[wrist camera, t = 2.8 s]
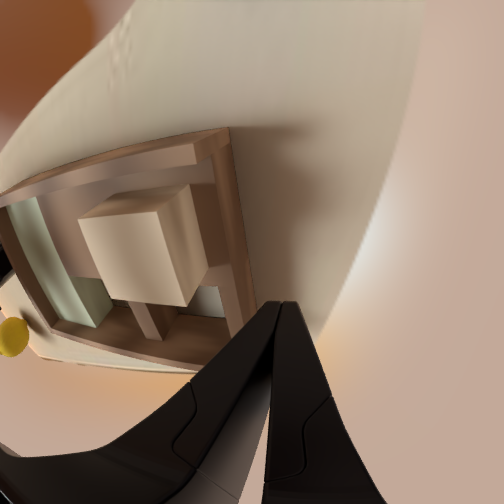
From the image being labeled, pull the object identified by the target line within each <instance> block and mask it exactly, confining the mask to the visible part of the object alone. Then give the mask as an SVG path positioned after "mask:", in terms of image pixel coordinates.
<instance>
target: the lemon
mask: <svg viewBox="0 0 504 504" xmlns="http://www.w3.org/2000/svg"><path fill="white" fill-rule="evenodd" d="M28 341H29V330H28V328H27V321H26V320H25V319H19V318H17V317H10V318H8V319H6V320H5V321H4V322H3V323H2V324H1V325H0V354H1V355H5V356H7V357H14V356H17V355H18V354H20V353H21V352H22V351H23V350H24V349H25V347H26V346H27V344H28Z"/></svg>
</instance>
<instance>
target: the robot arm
mask: <svg viewBox="0 0 504 504" xmlns="http://www.w3.org/2000/svg"><path fill="white" fill-rule="evenodd" d="M14 274H15V271H14V269H13V267H12V265H11V263H10V261H9V259H8V257H7V255H6V252H5V250H4V248H3V246H2V243H1V241H0V288H1V287H2V286H3V285H4V284H5V283H6V282H7V281H8V280H9V279H10V278H11V277H12V276H13V275H14ZM1 309H2V308H1V307H0V310H1ZM269 407H270V411H269V426H268V440H267V451H266V464H265V475H264V482H265V483H264V486H263V495H262V502H261V504H387V503H386V501H385V500H384V498H383V497H382V496H381V494H380V492H379V491H378V489H377V487H376V486H375V484H374V482H373V480H372V478H371V477H370V475H369V473H368V471H367V469H366V467H365V465H364V464H363V462H362V460H361V458H360V456H359V454H358V453H357V451H356V449H355V447H354V445H353V443H352V441H351V439H350V437H349V435H348V433H347V431H346V429H345V426H344V424H343V421H342V419H341V416H340V414H339V412H338V409H337V406H336V403H335V401H334V398H333V397H332V393H331V390H330V387H329V384H328V382H327V379H326V376H325V373H324V371H323V368H322V365H321V363H320V360H319V357H318V355H317V352H316V349H315V346H314V344H313V341H312V339H311V336H310V333H309V331H308V328H307V325H306V323H305V320H304V317H303V315H302V312H301V310H300V307H299V304H298V303H297V302H296V301H284V302H283V303H282V302H281V301H267V302H266V303H265V304H264V305H263V306H262V307H261V308H260V309H259V310H258V311H257V312H256V313H255V314H254V316H253V317H252V318H251V319H250V320H249V321H248V322H247V323H246V324H245V325H244V326H243V327H242V328H241V329H240V330H239V331H238V332H237V333H236V334H235V335H234V336H233V337H232V338H231V339H230V341H229V342H228V343H227V344H226V345H225V346H224V347H223V348H222V349H221V350H220V351H219V352H218V353H217V354H216V355H215V356H214V357H213V358H212V359H211V360H210V361H209V362H208V363H207V364H206V365H205V366H204V367H203V368H202V369H201V370H200V371H199V372H198V373H197V374H196V375H195V376H194V377H193V378H192V379H191V380H190V382H187V383H186V384H185V385H184V386H183V387H182V388H181V389H180V390H179V391H178V392H177V393H176V394H175V395H173V396H172V397H171V398H170V399H169V400H168V401H167V402H166V403H165V404H163V405H162V406H161V407H160V408H158V409H157V410H156V411H154V412H153V413H152V414H151V415H149V416H148V417H147V418H145V419H144V420H143V421H141V422H140V423H138V424H137V425H135V426H134V427H133V428H131V429H130V430H128V431H127V432H125V433H124V434H123V435H121V436H120V437H118V438H117V439H115V440H114V441H112V442H110V443H109V444H107V445H105V446H103V447H100V448H98V449H94V450H91V451H86V452H79V453H71V454H63V455H53V456H41V457H21V456H20V455H18V454H17V453H15V452H14V451H12V450H11V449H10V448H8V447H6V446H5V445H4V444H2V443H0V504H238V502H239V499H240V497H241V493H242V491H243V488H244V485H245V482H246V480H247V477H248V473H249V471H250V468H251V465H252V462H253V459H254V455H255V452H256V449H257V446H258V443H259V440H260V437H261V433H262V430H263V427H264V424H265V420H266V417H267V414H268V410H269Z"/></svg>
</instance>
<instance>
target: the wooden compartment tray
mask: <svg viewBox="0 0 504 504" xmlns="http://www.w3.org/2000/svg"><path fill="white" fill-rule="evenodd" d="M184 184H189V185H190V190H191V194H192V199H193V203H194V208H195V212H196V217H197V221H198V225H199V230H200V234H201V238H202V242H203V246H204V251H205V255H206V259H207V263H208V267H209V268H208V270H207V272H206V274H205V275H204V277H203V279H202V281H201V282H200V284H199V286H218V289H219V293H220V297H221V301H222V305H223V309H224V313H225V316H226V318H213V317H202V316H192V315H182V314H178V312H177V309H176V307H175V306H172V305H162V304H152V303H144V302H135V301H128V303H129V305H130V307H131V308H125V307H119V306H114V305H113V303H112V301H111V299H110V297H109V295H108V293H107V291H106V289H105V287H104V285H103V283H102V281H101V279H102V278H101V276H100V274H99V272H98V269H97V267H96V265H95V262H94V260H93V258H92V255H91V253H90V251H89V248H88V246H87V243H86V241H85V238H84V236H83V233H82V230H81V228H80V225H79V222H78V220H77V219H79V218H80V217H81V216H83V215H84V214H86V213H87V212H88V211H90V210H91V209H93V208H94V207H96V206H97V205H98V204H100V203H101V202H103V201H104V200H106V199H107V198H109V197H110V196H112V195H113V194H116V193H122V192H129V191H136V190H143V189H150V188H158V187H166V186H175V185H184ZM0 241H1V243H2V246H3V248H4V250H5V252H6V255H7V257H8V259H9V261H10V263H11V265H12V267H13V269H14V271H15V273H16V275H17V277H18V279H19V281H20V283H21V284H22V286H23V288H24V290H25V292H26V293H27V295H28V297H29V299H30V300H31V302H32V304H33V305H34V307H35V309H36V310H37V312H38V314H39V315H40V317H41V318H42V320H43V321H44V323H45V324H46V326H47V327H48V329H49V330H50V332H51V333H53V334H56V335H59V336H61V337H64V338H67V339H70V340H73V341H76V342H79V343H82V344H86V345H89V346H92V347H95V348H99V349H102V350H106V351H109V352H113V353H117V354H120V355H124V356H128V357H132V358H136V359H140V360H144V361H149V362H153V363H158V364H163V365H167V366H172V367H177V368H183V369H188V370H194V371H200V370H201V369H202V368H203V367H204V366H205V365H206V364H207V363H208V362H209V361H210V360H211V359H212V358H213V357H214V356H215V355H216V354H217V353H218V352H219V351H220V350H221V349H222V348H223V347H224V346H225V345H226V344H227V343H228V342H229V341H230V339H231V338H232V337H233V336H234V335H235V334H236V333H237V332H238V331H239V330H240V329H241V328H242V327H243V326H244V325H245V324H246V323H247V322H248V321H249V320H250V319H251V318H252V317H253V316H254V314H255V313H256V312H257V307H256V301H255V295H254V289H253V282H252V276H251V270H250V263H249V257H248V251H247V245H246V238H245V232H244V226H243V219H242V213H241V206H240V200H239V194H238V187H237V181H236V174H235V168H234V161H233V155H232V148H231V142H230V135H229V129H228V127H226V128H219V129H212V130H205V131H199V132H193V133H187V134H182V135H176V136H171V137H166V138H161V139H157V140H152V141H148V142H143V143H139V144H135V145H131V146H127V147H123V148H119V149H115V150H112V151H108V152H105V153H101V154H98V155H94V156H91V157H88V158H84V159H81V160H78V161H75V162H72V163H69V164H66V165H63V166H60V167H58V168H55V169H52V170H49V171H47V172H44V173H41V174H39V175H36V176H34V177H31V178H29V179H26V180H24V181H22V182H20V183H18V184H16V185H15V186H13V187H11V188H9V189H8V190H6V191H4V192H3V193H1V194H0Z"/></svg>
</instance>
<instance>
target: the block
mask: <svg viewBox="0 0 504 504" xmlns="http://www.w3.org/2000/svg"><path fill="white" fill-rule="evenodd" d="M77 220H78V222H79V225H80V228H81V230H82V233H83V236H84V238H85V241H86V243H87V246H88V248H89V251H90V253H91V255H92V258H93V260H94V262H95V265H96V267H97V269H98V272H99V274H100V276H101V278H102V280H103V282H104V285H105V287H106V289H107V291H108V293H109V295H110V297H111V299H119V300H127V301H135V302H144V303H152V304H162V305H172V306H182V307H187V305H188V304H189V302H190V300H191V298H192V297H193V295H194V293H195V291H196V289H197V288H198V286H199V284H200V282H201V281H202V279H203V277H204V275H205V274H206V272H207V270H208V268H209V267H208V263H207V259H206V255H205V251H204V246H203V242H202V238H201V234H200V230H199V225H198V221H197V217H196V212H195V208H194V203H193V199H192V194H191V190H190V185H189V184H184V185H175V186H166V187H158V188H150V189H143V190H136V191H129V192H122V193H116V194H113V195H112V196H110V197H109V198H107V199H106V200H104V201H103V202H101V203H100V204H98V205H97V206H96V207H94V208H93V209H91V210H90V211H88V212H87V213H86V214H84V215H83V216H81V217H80V218H79V219H77Z"/></svg>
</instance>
